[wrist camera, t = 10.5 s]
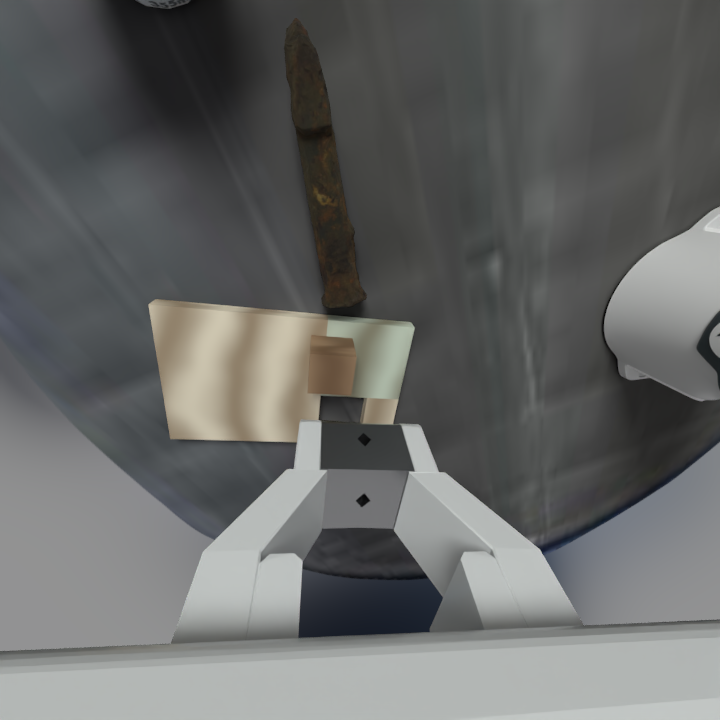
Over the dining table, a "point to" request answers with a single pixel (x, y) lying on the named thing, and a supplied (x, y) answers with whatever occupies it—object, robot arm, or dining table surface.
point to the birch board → (265, 368)
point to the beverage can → (163, 3)
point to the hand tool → (321, 171)
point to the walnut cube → (331, 365)
